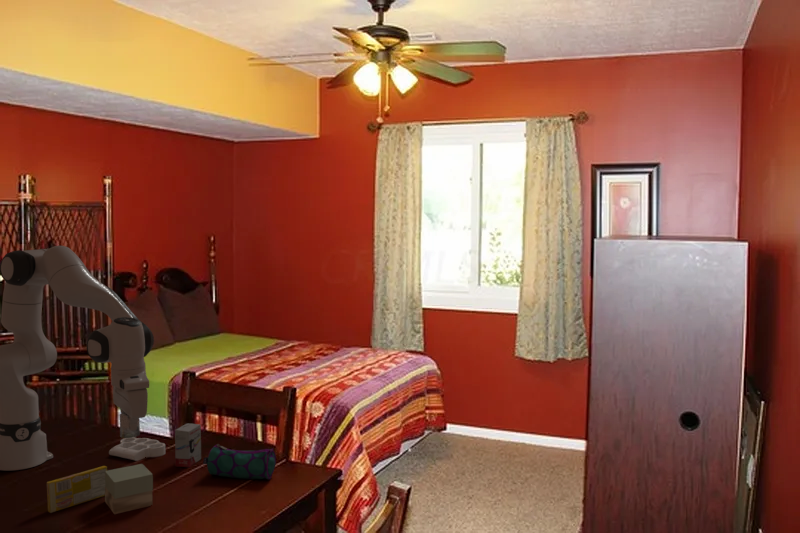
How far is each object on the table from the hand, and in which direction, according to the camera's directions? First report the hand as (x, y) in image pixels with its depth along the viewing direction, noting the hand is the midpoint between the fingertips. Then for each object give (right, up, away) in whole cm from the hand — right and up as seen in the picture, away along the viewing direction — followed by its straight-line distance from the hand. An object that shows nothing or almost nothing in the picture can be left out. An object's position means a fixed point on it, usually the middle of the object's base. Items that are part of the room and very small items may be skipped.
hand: (129, 427), depth 189 cm
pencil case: (+26, -21, +22) cm, 39 cm away
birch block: (-1, -22, +1) cm, 22 cm away
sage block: (0, -17, +1) cm, 17 cm away
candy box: (-15, -22, +1) cm, 26 cm away
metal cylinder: (0, -2, 0) cm, 2 cm away
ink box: (+6, -20, +33) cm, 39 cm away
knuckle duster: (-13, -19, +42) cm, 48 cm away
